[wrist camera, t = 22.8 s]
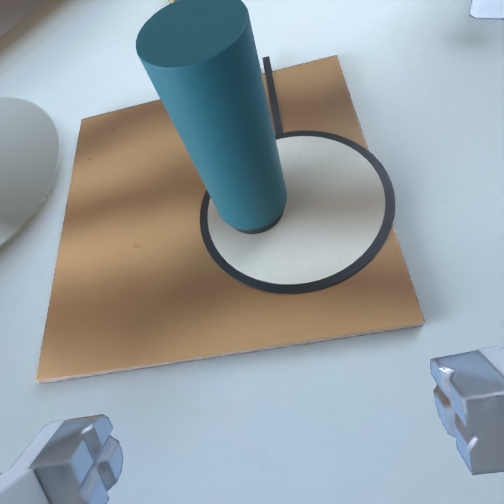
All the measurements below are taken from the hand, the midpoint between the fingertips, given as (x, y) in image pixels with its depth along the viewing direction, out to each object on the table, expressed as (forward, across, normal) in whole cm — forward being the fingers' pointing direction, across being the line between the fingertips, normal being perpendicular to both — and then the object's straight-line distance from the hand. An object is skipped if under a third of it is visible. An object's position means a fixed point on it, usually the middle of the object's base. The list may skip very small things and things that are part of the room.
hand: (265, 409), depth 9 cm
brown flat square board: (+16, +3, -4) cm, 17 cm away
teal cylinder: (+14, 0, -3) cm, 14 cm away
